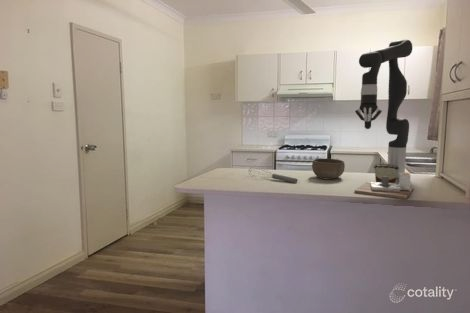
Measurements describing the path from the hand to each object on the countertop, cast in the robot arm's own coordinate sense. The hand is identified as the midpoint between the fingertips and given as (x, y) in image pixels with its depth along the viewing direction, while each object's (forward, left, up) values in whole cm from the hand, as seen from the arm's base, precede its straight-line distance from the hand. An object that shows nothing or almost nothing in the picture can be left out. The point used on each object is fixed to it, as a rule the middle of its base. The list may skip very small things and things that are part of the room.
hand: (367, 128), depth 181 cm
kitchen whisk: (+13, -46, -29) cm, 56 cm away
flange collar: (+10, +14, -27) cm, 32 cm away
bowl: (-8, -23, -29) cm, 38 cm away
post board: (+11, +11, -29) cm, 33 cm away
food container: (-9, +8, -29) cm, 32 cm away
